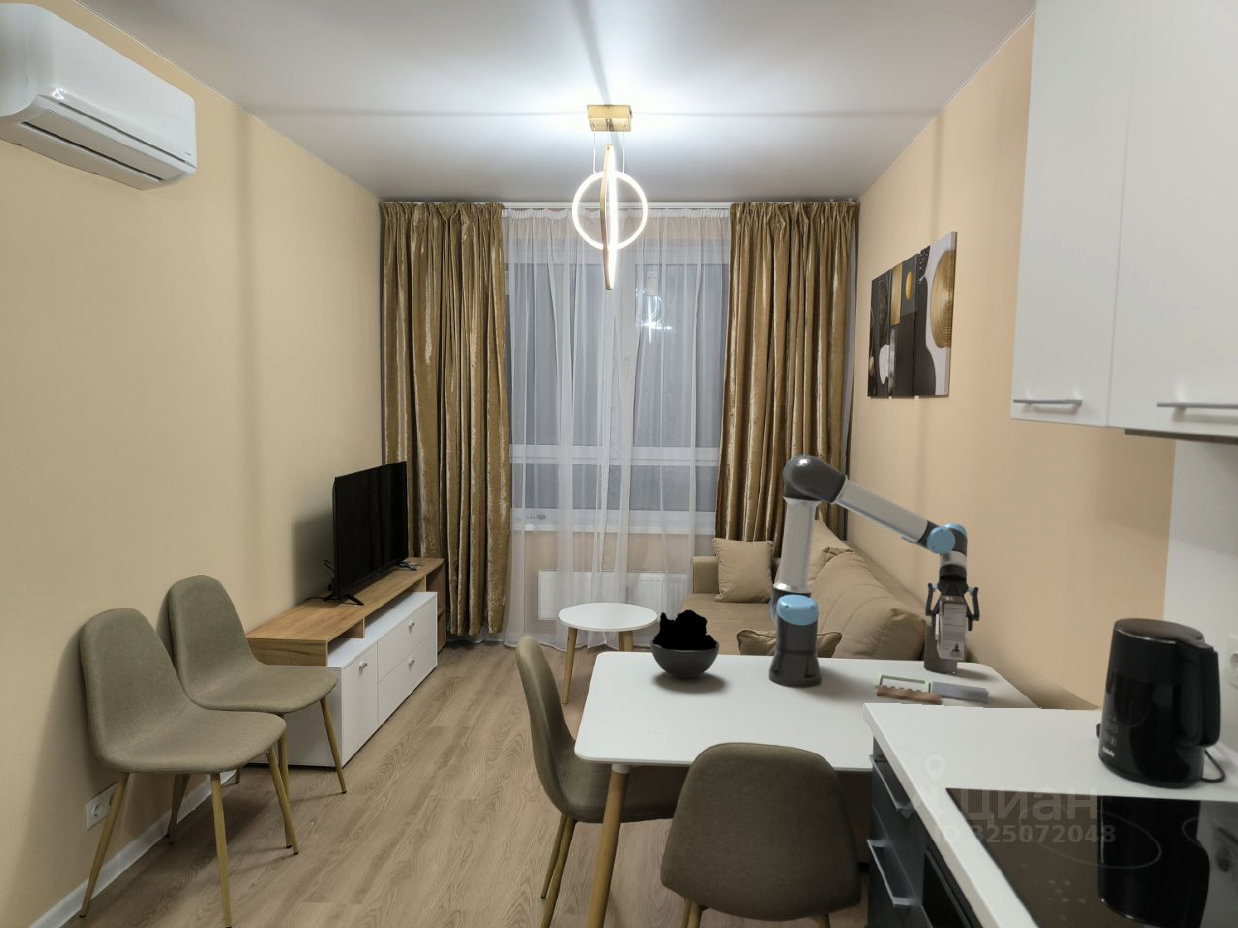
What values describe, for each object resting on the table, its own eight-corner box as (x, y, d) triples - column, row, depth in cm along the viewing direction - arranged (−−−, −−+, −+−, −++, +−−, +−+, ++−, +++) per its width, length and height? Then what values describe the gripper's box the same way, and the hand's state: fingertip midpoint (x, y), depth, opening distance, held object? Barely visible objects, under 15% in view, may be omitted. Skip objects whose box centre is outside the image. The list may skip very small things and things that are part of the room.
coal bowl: (722, 669, 240) (724, 607, 239) (712, 690, 221) (715, 622, 220) (657, 663, 245) (659, 602, 244) (642, 682, 226) (643, 616, 225)
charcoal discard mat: (931, 695, 221) (932, 693, 221) (932, 683, 232) (932, 681, 232) (987, 703, 216) (987, 701, 216) (985, 690, 227) (985, 688, 227)
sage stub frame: (875, 687, 227) (875, 684, 227) (878, 675, 238) (878, 673, 238) (928, 695, 222) (928, 692, 221) (928, 682, 233) (928, 679, 233)
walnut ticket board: (876, 695, 220) (876, 692, 220) (878, 689, 225) (878, 685, 225) (939, 704, 214) (939, 700, 214) (939, 697, 219) (939, 694, 219)
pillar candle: (919, 669, 246) (922, 621, 245) (927, 662, 254) (930, 615, 253) (953, 676, 240) (956, 626, 239) (960, 668, 248) (963, 620, 247)
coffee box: (935, 649, 230) (938, 594, 229) (959, 652, 229) (963, 596, 228) (939, 658, 221) (942, 600, 221) (964, 660, 220) (968, 603, 219)
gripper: (989, 580, 235) (989, 649, 220) (917, 574, 242) (913, 641, 228) (990, 565, 230) (991, 635, 215) (917, 560, 237) (913, 626, 223)
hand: (951, 638), depth 221 cm, fingers closed on coffee box, 7 cm apart
